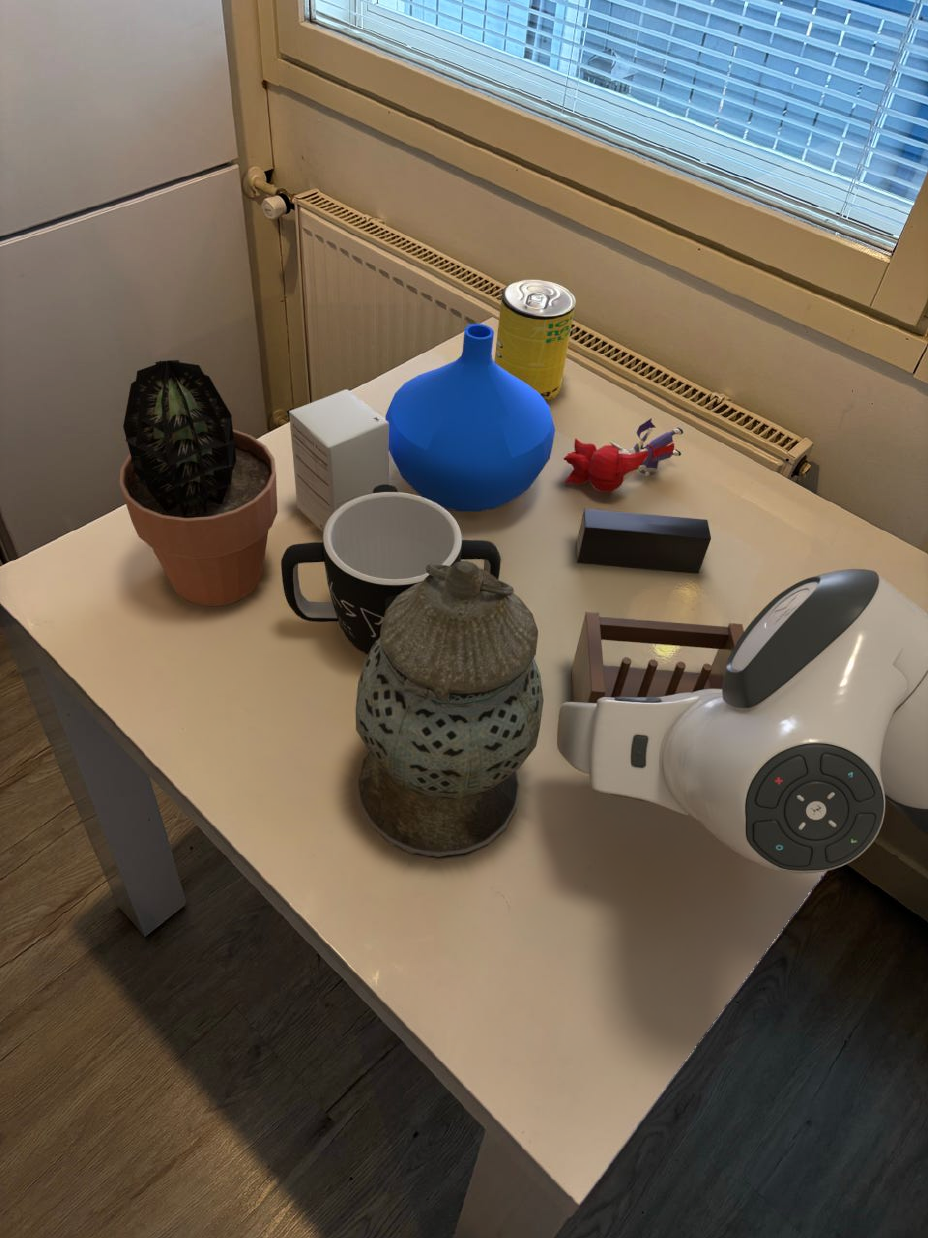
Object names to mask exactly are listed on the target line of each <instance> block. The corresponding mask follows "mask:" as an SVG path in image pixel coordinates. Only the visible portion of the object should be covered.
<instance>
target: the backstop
mask: <svg viewBox="0 0 928 1238" xmlns="http://www.w3.org/2000/svg"><path fill="white" fill-rule="evenodd" d="M711 541H712V535H711V530H710V526H709V521H708V519H702V518H692V517H681V516H670V515H660V514H659V515H658V514H647V513H637V512H625V511H614V510H604V509H603V510H602V509H592V508H584V509H583V511H582V516H581V521H580V524H579V530H578V534H577V539H576V542H575V545H576V546H575V548H576V549H575V550H576V562H577V563H578V564H579V563H580V564H591V565H601V566H613V567H624V568H634V569H635V568H636V569H645V570H646V569H647V570H658V571H667V572H668V571H669V572H680V573H692V574H699V573H700V571H701V567H702V565H703V562H704V560H705V557H706V554H707V552H708V549H709V546H710V544H711Z"/></svg>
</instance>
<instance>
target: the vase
mask: <svg viewBox="0 0 928 1238" xmlns="http://www.w3.org/2000/svg"><path fill="white" fill-rule="evenodd" d="M494 336H495V331H494V330H493V328H492V327H490V326H489V325H486V324H484V323H483V324H482V323H473V324H468V325H467V326H465V328H464V331H463V341H462V342H463V343H462V352H461V355H460V356H459V357H458V358H456V360H453V361H452V362H449V363H447V364H445V365H442V366H440V367H437V368H435V369H432V370H429V371H426V372H423V373H420V374H418V375H416V376H414V377H413V378H411V379H410V380H407V381H406V382H405V383H403V384H402V385H401V386H400V387H399V388H398V390H396V392H395V393H394V395H393V397H392V399H391V401H390V403H389V406H388V408H387V411H386V413H385V416H384V417H385V418H384V419H385V420H386V421H388V422H389V455H391V458H392V460H393V462H394V464H395V466H396V468H397V470H398V472H399V474H400V476H401V478H402V479H403V480H404V481H405V482H406V483H407V485H409V486H410V487H411V488H412V489H413V490H414V491H415V492H416V493H417V494H418V496H420V497H423V498H426V499H429V500H431V501H433V502H435V503H437V504H438V505H440V506H441V507H443V508H444V509H445V510H450V511H455V512H462V513H470V512H471V513H474V512H475V513H477V512H485V511H489V510H490V511H491V510H494V509H497V508H500V507H503V506H504V505H507V504H508V503H510V502H511V501H513V500H515V499H517V498H518V497H520V496H521V495H522V494H523V493H525V492H526V491H527V490H528V489H530V487H531V486H532V485H533V483H534V482H535V480H536V479H537V478H538V477H539V475H540V474H541V472H542V471H543V470H544V468H545V467H546V465H547V464H548V463H549V461H550V460H551V456H552V455H551V454H552V450H553V445H554V439H555V433H556V427H555V423H554V419H553V415H552V412H551V408H550V406H549V404H548V403H547V401H545V400H544V399H543V397H542V396H541V395H540V394H539V393H538V392H537V391H535V390H534V389H533V388H532V387H530V386H529V385H528V384H526V383H524V382H523V381H521V380H519V379H518V378H516V377H514V376H513V375H511V374H510V373H508V372H507V371H505V370H504V369H502V368H501V367H500V366H498V365H497V364H496V363H495V362H494V361H495V359H493V347H494V346H493V345H494Z"/></svg>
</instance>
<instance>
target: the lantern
mask: <svg viewBox="0 0 928 1238" xmlns="http://www.w3.org/2000/svg"><path fill="white" fill-rule="evenodd" d="M483 569H484V568H481V567H479V566H478V565H477V564H476V563H474V562H472V561H469V560H461V561H459V562H456V563H455V564H454V565H452V566H447V565H441V564H428V565H427V566H426V571H427V573H428V574H429V575H428V576H427V577H426V578H425V579H424V580H423V582H420V583H417V584H415V585H413V586H412V587H410V588H409V589H407V590H406V591H404V592H403V593H401V594H399V595H398V596H397V597H396V598H395V600H394V601H393V602H392V603H391V605H390V606H389V607H388V609H387V610H386V612H385V615H384V619H383V622H382V626H381V631H380V638H379V639H378V640H377V641H376V642H375V644H374V645H373V647H372V648H371V650H370V652H369V653H368V655H367V654H366V657H365V658H364V662H363V666H362V668H361V672H360V674H359V678H358V681H357V690H356V700H355V731H356V733H357V734H358V737H359V738H360V740H361V741H362V742H363V744H364V746H365V748H366V749H367V750H368V753H366V755H365V757H364V758H363V760H362V763H361V767H360V771H359V775H358V779H357V787H358V795H359V805H360V808H361V810H362V812H363V814H364V815H365V818H366V819H367V822H368V824H369V825H370V827H371V828H372V829H373V830H374V831H375V833H378V835H379V836H380V837H381V838H383V840H384V841H385V842H386V843H388V844H389V845H391V846H393V847H394V848H395V847H396V848H397V849H399V850H401V851H403V852H405V853H407V854H409V855H412V856H417V857H423V858H429V859H433V860H434V859H436V860H443V859H451V858H459V857H467V856H469V855H470V854H473V853H475V852H478V851H479V850H481V849H484V848H486V847H488V846H489V845H490V844H492V843H493V842H494V841H495V840H496V839H498V837H499V836H501V834H503V833H504V832H505V831H506V830H507V828H508V826H509V824H510V822H511V820H512V818H513V816H514V814H515V813H516V811H517V807H518V801H519V800H518V799H519V794H520V793H519V792H520V782H519V778H518V774H517V771H518V770H519V769H521V767H522V765H523V764H524V763H525V761H526V760H527V759H528V758H529V756H530V755H531V754H532V753H533V752H534V750H535V748H536V747H537V744H538V739H539V733H540V730H541V723H542V716H543V708H544V693H543V686H542V678H541V673H540V669H539V668H538V667H539V666H538V665H537V661H536V657H535V656H536V655H537V647H538V638H539V629H538V626H537V623H536V620H535V617H534V614H533V613H532V611H531V610H530V608H529V607H528V606H527V605H526V603H525V602H524V601H523V600H522V598H521V597H520V596H518V595H517V594H516V593H515V589H514V587H513V586H512V585H511V584H509V583H507V582H505V581H502V580H500V579H499V580H497V579H496V577H494V576H493V575H492V574H490V573H489V572H487V571H486V570H483Z"/></svg>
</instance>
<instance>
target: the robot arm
mask: <svg viewBox="0 0 928 1238" xmlns="http://www.w3.org/2000/svg"><path fill="white" fill-rule="evenodd" d="M556 730H557V731H556V747H557V749H558V752H559V753H560V755H561V756H562V757H563V758H564V760H565V761H567V763H568V764H569V765H571V766H572V767H573V768H574V769H576V770H578V771H579V772H581V773H583V774H586V775H589V786H590V787H591V788H592V789H593V790H595V791H597V792H599V793H603V794H604V793H605V794H610V795H612V796H616V797H617V796H618V797H622V798H628V799H633V800H638V801H641V802H647V803H653V804H655V805H658V806H662V807H664V808H667V809H669V810H671V811H674V812H676V813H679V814H682V815H684V816H689V815H690V816H691V817H692V818H694V819H695V820H697V821H698V822H700V823H701V824H702V825H703V826H704V828H705V829H706V830H707V831H708V832H710V833H711V834H712V835H713V836H714V837H715V838H716V839H717V840H719V841H720V842H721V843H723V844H724V845H725V846H727V847H728V848H729V849H731V850H733V851H734V852H736V853H737V854H739V855H740V856H742V857H743V858H745V859H748V860H750V861H752V862H754V863H756V864H757V865H760V866H763V867H766V868H769V869H772V870H775V871H779V872H783V873H788V874H797V875H798V874H800V875H805V874H806V875H808V874H817V873H823V872H827V871H832V870H833V871H834V870H836V869H838V868H841V867H844V866H846V865H848V864H849V863H851V862H854V861H855V860H857V858H859V857H861V856H862V855H863V853H865V852H866V851H867V850H868V849H869V848H870V846H871V845H872V844H873V843H874V841H875V840H876V838H877V836H878V835H879V833H880V831H881V828H882V825H883V823H884V818H885V813H886V800H887V801H889V802H890V803H891V805H893V806H894V807H895V808H896V810H898V811H899V812H900V813H901V814H902V815H903V816H904V817H905V818H906V819H907V820H908V821H909V822H910V823H912V825H913V826H915V828H916V829H918V830H919V831H920V832H921V833H923V834H925V835H927V836H928V613H927V612H926V610H924V609H922V608H921V607H920V606H918V605H917V603H915V602H913V601H912V600H911V599H910V598H909V597H908V596H906V595H905V594H904V593H902V592H901V591H900V590H898V589H897V588H896V587H895V586H894V585H892V584H891V583H890V582H888V581H887V580H886V579H884V577H882V576H880V575H879V574H878V573H877V571H875V570H872V569H866V568H848V569H840V570H839V569H838V570H835V571H831V572H826V573H822V574H818V575H814V576H810V577H808V578H805V579H803V580H801V581H798V582H796V583H794V584H793V585H791V586H789V587H788V588H786V589H784V590H783V591H782V592H780V593H779V594H778V595H776V596H775V597H774V598H773V599H772V600H770V602H768V604H766V605H765V606H764V608H763V609H762V610H760V612H759V613H758V614H757V615H756V616H755V617H754V618H753V620H752V621H751V622H750V623H749V624H748V625H747V627H746V628H745V630H744V633H743V634H742V636H741V637H740V639H739V640H738V642H737V643H736V645H735V647H734V648H733V650H732V652H731V654H730V656H729V658H728V660H727V663H726V668H725V673H724V678H723V685H722V689H704V690H699V691H695V692H693V693H680V694H674V695H669V696H664V697H615V698H610V697H603V698H600V699H598V701H597V703H583V702H573V701H566V702H563V703H562V704H561V705H560V707H559V712H558V719H557V729H556Z"/></svg>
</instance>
